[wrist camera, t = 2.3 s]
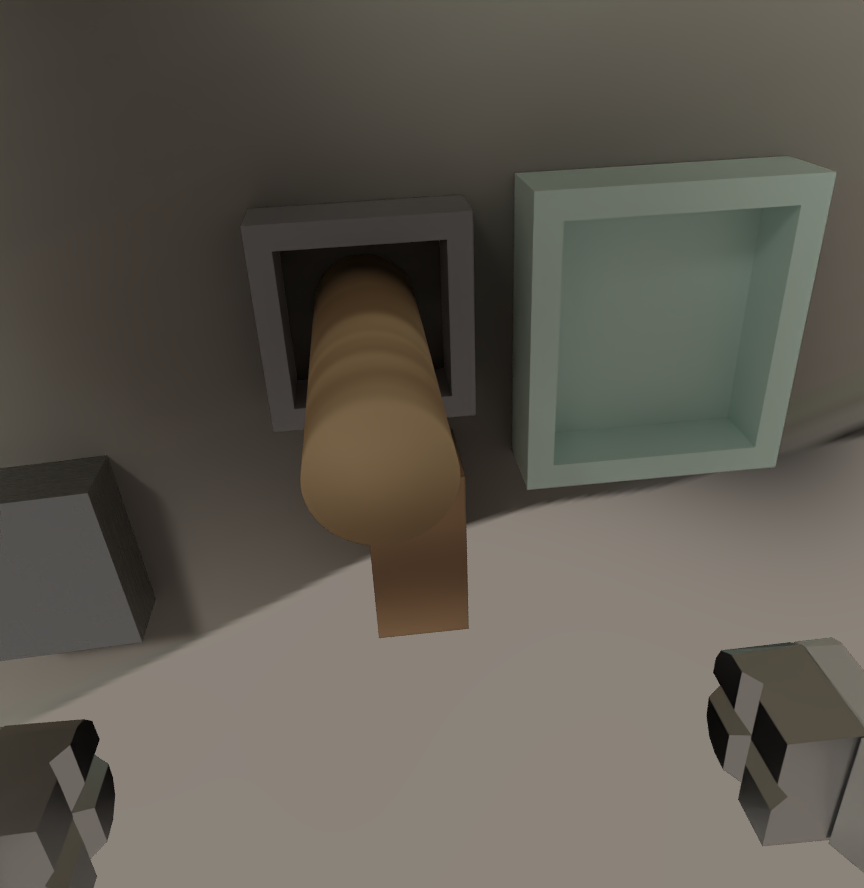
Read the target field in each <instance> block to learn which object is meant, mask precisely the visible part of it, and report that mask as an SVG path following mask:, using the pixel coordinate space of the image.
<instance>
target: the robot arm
mask: <svg viewBox="0 0 864 888" xmlns="http://www.w3.org/2000/svg"><path fill="white" fill-rule="evenodd" d="M713 673H714V675H715V677H716V678H717V680H718V682H719V684H720V686H719V687H718V688H717V689H716V690H715V691H714V692H713V693H712V694H711V696H710V697H709V701H708V708H707V723H708V730H709V737H710V740H711V743H712V746H713V749H714V752H715V754H716V756H717V758H718V760H719V762H720V764H721V766H722V768H723V770H725V771H726V772H727V773H729V774H730V775H732V776H733V777H734V778H736V779H737V780H739V781H740V782H742V783H741V788H740V793H739V799H738V800H739V802H740V803H741V806H742V808H743V809H744V811H745V813H746V815H747V817H748V819H749V821H750V823H751V825H752V827H753V829H754V831H755V833H756V834H757V836H758V838H759V840H760V842H761V844H762V846H769V845H780V844H791V843H800V842H811V841H822V840H830V841H829V844H830V845H831V846H832V847H834V848H835V849H836V850H837V851H838V852H840V853H841V854H842V855H843V856H844V857H846V858H847V859H848V860H849V861H850V862H852V863H853V864H854V865H855V866H856V867H858V868H859V869H860V870H861V871H862V872H864V670H863V669H862V668H861V666H860V665H859V664H858V663H857V662H856V661H855V659H854V658H853V657H852V655H851V654H850V653H849V652H848V651H847V649H846V648H845V647H844V646H843V645H842V644H841V642H839V641H837V640H835V639H833V638H823V639H815V640H806V641H798V642H794V643H790V642H789V643H781V644H772V645H764V646H755V647H746V648H738V649H730V650H722V651H720V653H719V654H718V656H717V657H716V660H715V666H714V671H713ZM98 742H99V736H98V734H97V732H96V729H95V727H94V725H93V722H92V721H90V720H85V719H82V720H70V721H57V722H47V723H33V724H21V725H9V726H4V727H0V888H93V887H94V884H95V881H96V878H97V875H96V873H95V870H94V867H93V865H92V863H91V860H90V859H91V858H92V857H93V856H94V855H95V854H96V853H97V852H98V851H99V850H100V849H101V847H102V846H103V845H104V844H105V843H106V842H107V840H108V836H109V833H110V829H111V825H112V822H113V814H114V803H115V790H114V782H113V776H112V773H111V770H110V767H109V764H108V763H107V762H105V761H103V760H102V759H100V758H99V757H97V756H96V755H95V752H96V748H97V745H98Z"/></svg>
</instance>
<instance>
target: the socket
mask: <svg viewBox="0 0 864 888" xmlns="http://www.w3.org/2000/svg"><path fill="white" fill-rule="evenodd" d="M240 229H241V235H242V242H243V248H244V254H245V260H246V266H247V272H248V279H249V285H250V291H251V297H252V303H253V309H254V316H255V322H256V328H257V334H258V340H259V347H260V353H261V359H262V365H263V371H264V377H265V384H266V390H267V396H268V402H269V408H270V415H271V421H272V427H273V432H284V431H296V430H304V425H305V413H306V400H307V388H308V380H297V373H296V366H295V359H294V351H293V344H292V337H291V330H290V323H289V315H288V308H287V301H286V294H285V287H284V279H283V272H282V265H281V258H280V251H288V250H302V249H317V248H331V247H346V246H361V245H375V244H390V243H404V242H419V241H433V240H439V244H440V272H441V299H442V327H443V355H444V369H434V371H435V374H436V378H437V382H438V386H439V389H440V393H441V397H442V401H443V404H444V408H445V412H446V416H447V418H448V417H460V416H472V415H476V386H475V316H474V247H473V210H472V209H471V207H470V206H469V204H468V203H467V201H466V200H465V198H464V196H463V195H451V196H436V197H420V198H405V199H389V200H374V201H358V202H343V203H327V204H312V205H296V206H281V207H266V208H250V209H248V210H247V212H246V214H245V216H244V219H243V221H242V223H241V225H240Z"/></svg>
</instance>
